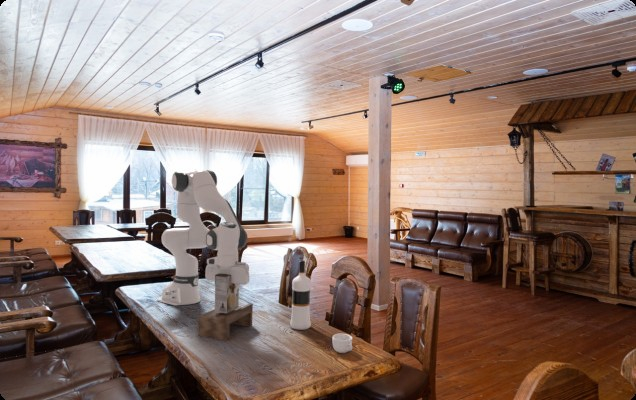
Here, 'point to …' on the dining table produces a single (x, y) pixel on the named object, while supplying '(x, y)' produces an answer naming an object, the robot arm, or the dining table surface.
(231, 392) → the dining table surface
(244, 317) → the walnut shelf
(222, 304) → the coffee box
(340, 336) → the teacup
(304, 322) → the vodka
